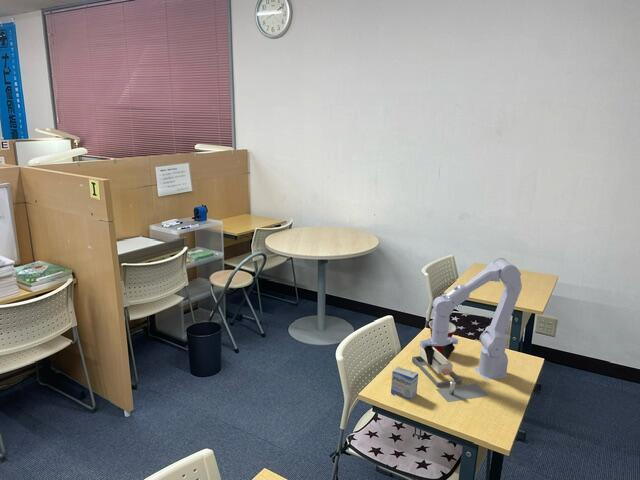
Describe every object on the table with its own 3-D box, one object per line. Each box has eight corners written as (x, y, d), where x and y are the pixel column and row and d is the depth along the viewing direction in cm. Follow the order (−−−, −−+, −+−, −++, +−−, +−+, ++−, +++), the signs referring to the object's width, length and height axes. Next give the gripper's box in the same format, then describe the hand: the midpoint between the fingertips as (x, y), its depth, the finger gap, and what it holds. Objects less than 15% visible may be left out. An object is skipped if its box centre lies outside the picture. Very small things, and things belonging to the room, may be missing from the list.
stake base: (475, 384, 169) (477, 371, 167) (489, 397, 161) (491, 382, 160) (435, 390, 164) (437, 376, 163) (447, 403, 157) (448, 388, 156)
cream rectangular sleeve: (454, 373, 169) (454, 366, 168) (440, 375, 167) (440, 368, 167) (432, 353, 183) (433, 346, 183) (419, 355, 182) (420, 348, 181)
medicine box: (390, 393, 162) (391, 370, 160) (396, 387, 166) (397, 365, 164) (411, 401, 158) (413, 378, 156) (416, 395, 161) (418, 372, 159)
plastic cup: (444, 361, 185) (446, 333, 182) (421, 351, 193) (423, 324, 190) (459, 352, 192) (461, 325, 189) (436, 343, 200) (438, 317, 197)
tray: (434, 358, 187) (434, 354, 186) (461, 385, 168) (462, 380, 168) (411, 361, 184) (412, 356, 184) (436, 388, 166) (437, 383, 165)
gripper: (452, 323, 177) (448, 355, 180) (417, 326, 173) (414, 359, 177) (462, 330, 170) (458, 364, 174) (426, 334, 167) (423, 369, 170)
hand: (437, 363), depth 175 cm, fingers closed on cream rectangular sleeve, 6 cm apart
